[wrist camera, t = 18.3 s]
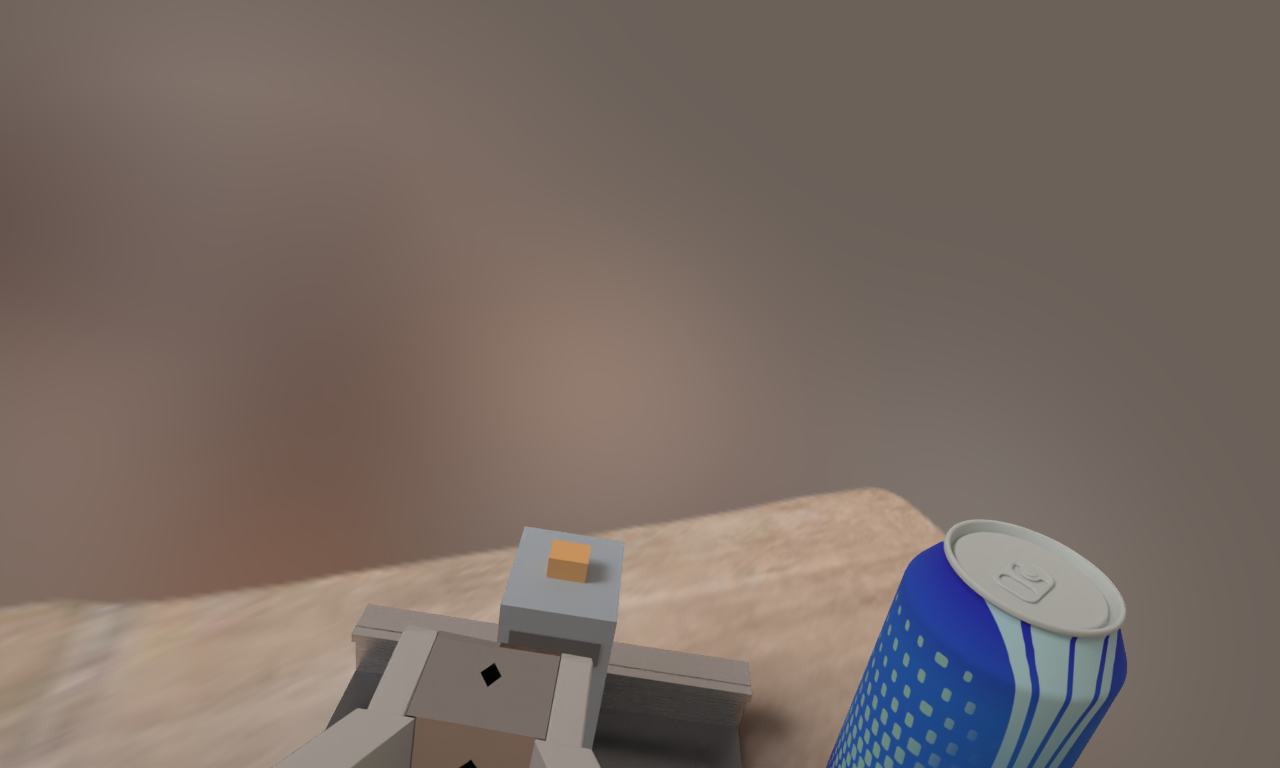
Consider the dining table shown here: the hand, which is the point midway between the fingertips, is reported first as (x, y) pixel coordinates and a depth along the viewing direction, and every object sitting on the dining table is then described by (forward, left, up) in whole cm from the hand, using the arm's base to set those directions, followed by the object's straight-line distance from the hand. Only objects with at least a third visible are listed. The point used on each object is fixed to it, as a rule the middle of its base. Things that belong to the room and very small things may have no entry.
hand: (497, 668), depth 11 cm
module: (0, +15, -22) cm, 26 cm away
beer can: (+18, +15, -23) cm, 32 cm away
